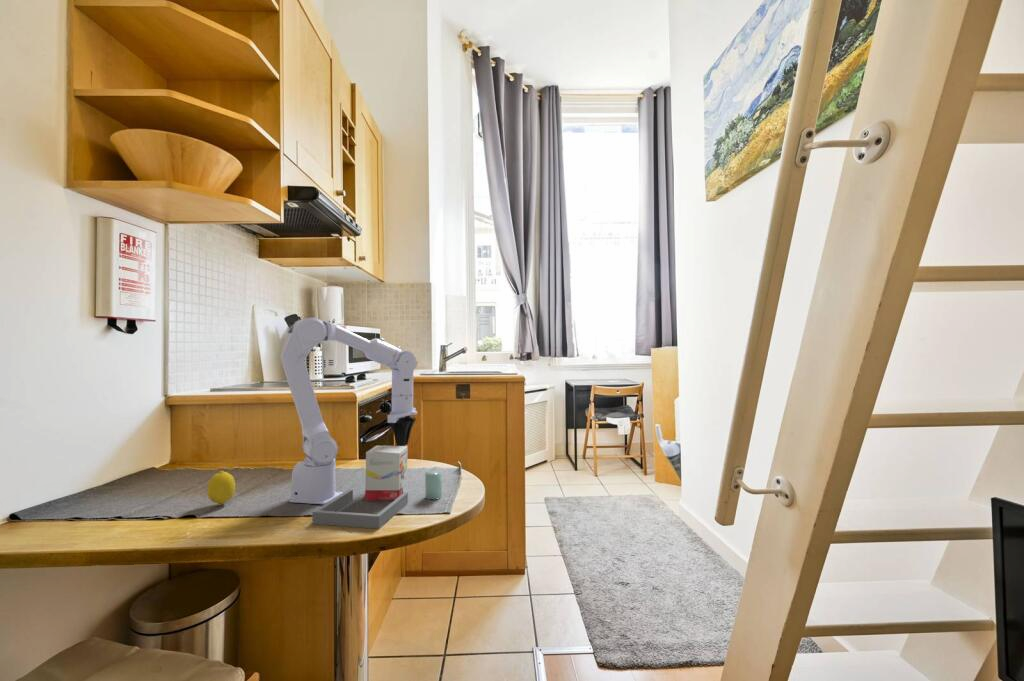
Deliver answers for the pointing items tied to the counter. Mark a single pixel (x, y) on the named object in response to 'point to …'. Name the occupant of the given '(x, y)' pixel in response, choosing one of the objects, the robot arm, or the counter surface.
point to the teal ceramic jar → (433, 484)
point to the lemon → (221, 487)
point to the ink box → (386, 472)
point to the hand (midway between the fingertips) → (402, 445)
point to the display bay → (330, 517)
